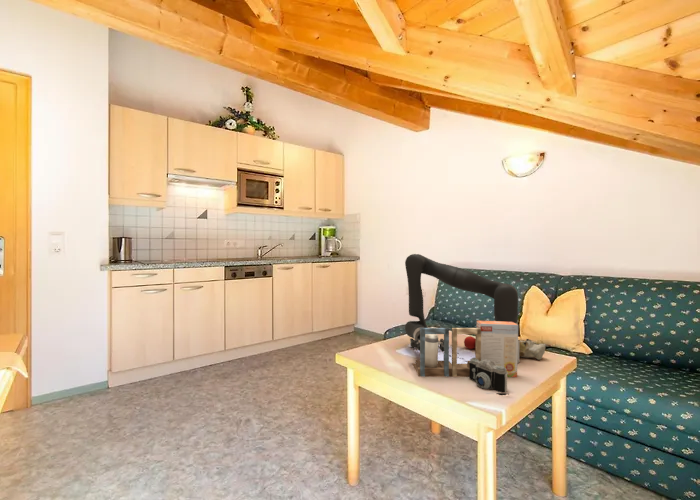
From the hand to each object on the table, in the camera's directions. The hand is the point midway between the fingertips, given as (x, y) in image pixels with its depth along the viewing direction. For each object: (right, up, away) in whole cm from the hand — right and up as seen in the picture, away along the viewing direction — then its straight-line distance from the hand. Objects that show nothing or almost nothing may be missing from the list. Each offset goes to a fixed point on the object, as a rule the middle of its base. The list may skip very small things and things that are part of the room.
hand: (432, 349), depth 132 cm
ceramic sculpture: (+48, -10, +21) cm, 53 cm away
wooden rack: (+6, -10, +3) cm, 12 cm away
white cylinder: (0, -9, +2) cm, 9 cm away
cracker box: (+24, -10, -1) cm, 26 cm away
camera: (+16, -10, -12) cm, 22 cm away
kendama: (+33, -10, +32) cm, 47 cm away
